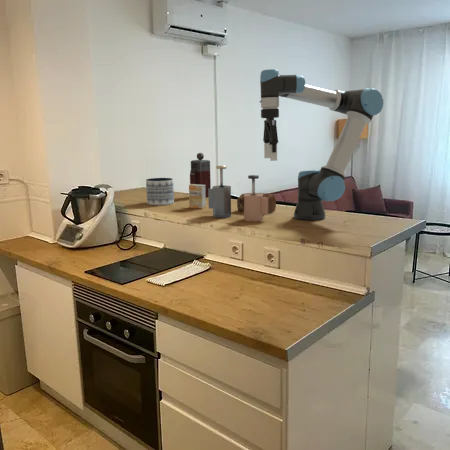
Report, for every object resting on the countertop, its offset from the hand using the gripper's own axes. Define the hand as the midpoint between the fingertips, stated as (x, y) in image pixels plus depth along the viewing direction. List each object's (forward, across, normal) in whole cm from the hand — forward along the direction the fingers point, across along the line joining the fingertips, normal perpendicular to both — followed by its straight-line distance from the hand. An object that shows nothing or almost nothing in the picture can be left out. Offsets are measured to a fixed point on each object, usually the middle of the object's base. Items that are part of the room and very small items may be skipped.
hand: (270, 159), depth 200 cm
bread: (+31, -42, 0) cm, 52 cm away
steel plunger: (+18, -31, -19) cm, 41 cm away
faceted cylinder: (+30, -32, -20) cm, 48 cm away
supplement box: (+30, -58, -30) cm, 72 cm away
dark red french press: (+30, -98, -27) cm, 106 cm away
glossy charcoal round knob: (+21, -20, -5) cm, 29 cm away
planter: (+30, -78, -52) cm, 98 cm away
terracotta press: (+30, -19, -4) cm, 36 cm away
